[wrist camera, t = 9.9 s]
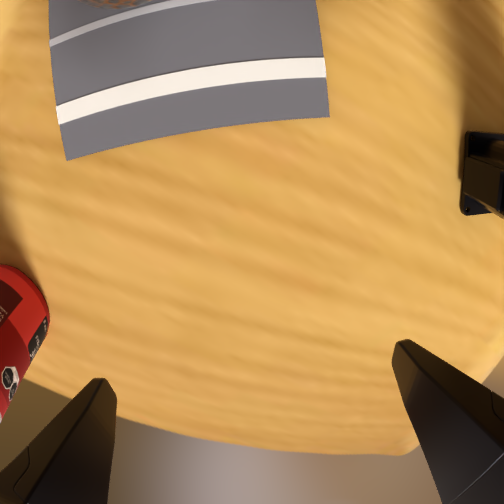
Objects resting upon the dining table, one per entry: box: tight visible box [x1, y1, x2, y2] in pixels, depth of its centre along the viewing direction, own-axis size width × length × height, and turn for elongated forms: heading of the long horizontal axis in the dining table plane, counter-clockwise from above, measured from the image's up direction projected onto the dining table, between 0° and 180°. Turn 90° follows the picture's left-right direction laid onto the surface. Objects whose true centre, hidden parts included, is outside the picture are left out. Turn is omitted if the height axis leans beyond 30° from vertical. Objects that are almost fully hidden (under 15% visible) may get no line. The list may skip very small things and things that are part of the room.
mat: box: [49, 0, 330, 161], centre depth 13 cm, size 16×16×1 cm
